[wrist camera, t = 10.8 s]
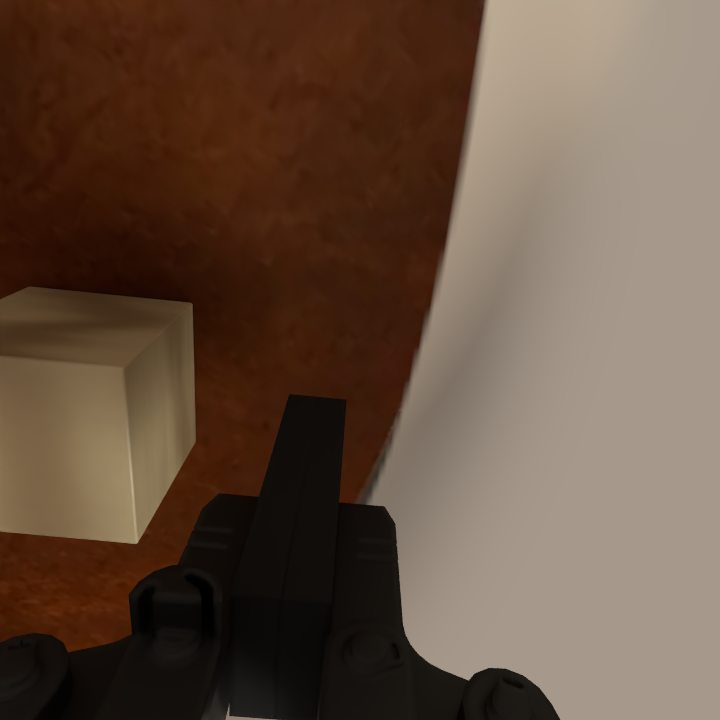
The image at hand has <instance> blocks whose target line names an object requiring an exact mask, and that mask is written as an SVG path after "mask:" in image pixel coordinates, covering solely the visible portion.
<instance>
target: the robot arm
mask: <svg viewBox="0 0 720 720" xmlns="http://www.w3.org/2000/svg"><path fill="white" fill-rule="evenodd" d="M345 413H346V400H343V399H333V398H322V397H312V396H301V395H290V394H289V397H288V401H287V404H286V407H285V411H284V414H283V418H282V421H281V424H280V428H279V431H278V435H277V438H276V441H275V445H274V448H273V452H272V455H271V458H270V462H269V465H268V469H267V472H266V475H265V479H264V482H263V486H262V489H261V492H260V496H259V497H253V496H242V495H231V494H218V495H217V496H216V497H215V498H214V499H212V500H211V501H210V502H209V503H208V504H207V505H206V506H205V507H203V508H202V511H201V513H200V515H199V517H198V520H197V522H196V524H195V527H194V531H192V533H191V536H190V538H189V540H188V544H187V546H186V547H185V549H184V552H183V554H182V556H181V559H180V561H179V563H178V565H171V566H168V567H165V568H163V569H160V570H157V571H154V572H152V573H151V574H150V575H148V576H147V577H145V578H144V579H142V580H141V581H139V582H138V584H137V585H136V586H135V588H134V589H133V590H132V591H131V593H130V594H129V604H130V615H131V625H132V634H131V635H129V636H127V637H125V638H123V639H121V640H119V641H116V642H113V643H109V644H106V645H102V646H97V647H92V648H87V649H83V650H78V651H73V652H67V650H66V648H65V645H64V643H63V642H61V641H60V640H58V639H57V638H55V637H53V636H52V635H46V634H38V633H32V634H26V635H21V636H16V637H12V638H10V639H8V640H6V641H4V642H1V643H0V720H225V719H226V715H227V711H228V707H229V702H230V712H229V716H238V717H250V718H263V719H277V720H560V718H559V717H558V715H557V713H556V711H555V709H554V708H553V706H552V704H551V703H550V701H549V700H548V699H547V697H546V696H545V695H544V693H543V692H542V691H541V690H540V688H539V687H537V686H536V685H535V684H533V683H532V682H531V681H530V680H528V679H527V678H526V677H524V676H523V675H520V674H518V673H515V672H513V671H510V670H507V669H499V668H488V669H486V670H483V671H480V672H478V673H475V674H474V675H473V676H472V678H471V679H470V680H469V681H468V680H466V679H463V678H460V677H458V676H456V675H453V674H451V673H448V672H446V671H443V670H441V669H439V668H437V667H435V666H433V665H431V664H430V663H428V662H427V661H425V660H424V659H423V658H422V657H421V656H420V655H419V654H418V653H417V652H416V651H415V650H414V649H413V648H412V646H411V645H410V643H409V641H408V639H407V637H406V635H405V632H404V627H403V621H402V607H401V594H400V582H399V567H398V554H397V547H396V544H397V541H396V527H395V523H394V521H393V519H392V518H391V516H390V515H389V513H388V512H387V510H386V508H385V507H384V506H373V505H361V504H350V503H339V494H340V481H341V467H342V453H343V440H344V426H345Z"/></svg>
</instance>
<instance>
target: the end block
mask: <svg viewBox="0 0 720 720" xmlns="http://www.w3.org/2000/svg"><path fill="white" fill-rule="evenodd" d="M195 442H196V428H195V386H194V344H193V305H192V303H188V302H179V301H169V300H159V299H149V298H139V297H129V296H119V295H110V294H100V293H90V292H80V291H70V290H60V289H50V288H40V287H31V286H30V287H27V288H25V289H22V290H20V291H18V292H16V293H13V294H11V295H9V296H7V297H4V298H2V299H0V531H2V532H13V533H24V534H35V535H46V536H57V537H68V538H79V539H90V540H100V541H111V542H122V543H133V544H136V543H138V541H139V540H140V538H141V536H142V534H143V533H144V531H145V529H146V527H147V526H148V524H149V522H150V520H151V519H152V517H153V515H154V513H155V512H156V510H157V508H158V506H159V505H160V503H161V501H162V500H163V498H164V496H165V494H166V493H167V491H168V489H169V487H170V486H171V484H172V482H173V480H174V479H175V477H176V475H177V473H178V472H179V470H180V468H181V466H182V465H183V463H184V461H185V459H186V458H187V456H188V454H189V452H190V451H191V449H192V447H193V445H194V444H195Z"/></svg>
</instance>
